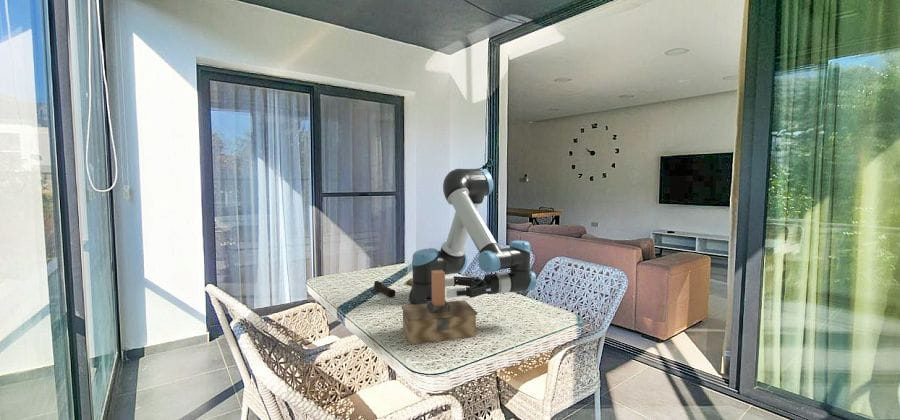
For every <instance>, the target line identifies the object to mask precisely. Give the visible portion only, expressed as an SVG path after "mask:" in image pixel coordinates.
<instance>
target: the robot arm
mask: <svg viewBox="0 0 900 420" xmlns="http://www.w3.org/2000/svg"><path fill="white" fill-rule="evenodd" d="M442 189H443V190H442V191H443V195H444V198H445V200H446V201H447V203H448V204H449V205H451V206H452V207H453V208H454V210H455V213H454V215H453V219H452V222H451V224H450V229H449V231H448V235H447V238H446V241H445V242H443V243H442V244H441V248H440V250H438V249H437V248H433V247H432V248H431V247H430V248H423V249H418V250H416V251H415V252H414V253H413V254H412V259H411V260H412V261H411V265H412V269H411V270H412V278H413V285H412V286H411V288H410V291H409V295H408V302H409V303H410V304H411V305H417V304H427V302H430V301H432V271H433V270H443V271H444V272H445V276H446V275H453V274H458V273H461V272H463V271H464V270H465V269H466V267H467V266H468V262H469V261H468V254H467V252H466V248H465V245H466V241H467V239H468V237H469V236H470V239H471V240H472V242H473V243H474V245H475V247H476V249H477V251H478V253H479V255H478V257H477V262H478V267H479V268H480V270H482V271H483V272H486V273H487V274H485V275H484V277H483V279H481V278H480V277H479V276H455V275H454V276H453V278H445V287H455V286H461V287H458V288H450V289H449V288H447V289H446V297H447V298H457V297H458V298H459V297H465V296H466V297H469V298H470V299H473V298H476V297H479V296H482V295H486V294H487V295H497V294H502V295H505V294H506V293H507V294H508V293H520V292H521V293H522V292H523V293H524V292H530V291H534V290H535V288H536V287H537V283H538V282H537V281H538V280H537V277H536V276H537V275H536V273H535V271H532V270H531V253H532V252H531V244H530V242H529V241H526V240H518V239H516V240H512V241H510V244H509V247H504V248H501V247H500V246H499V244H498V242H497V240H496V239H495V237H494V236H493V234H492V232H491V231H490V229H489V227H488V226H487V224H486V222H485V220H484V219H483V217H482V216H481V214H480V213H479V211H478V209H477V208H478V207H479V205H481V204H482V203H483V201H484V199H485V196H489V195H491V194H492V192H493V190H494V179H493V177H492V175H491V173H490V172H489V171H488V170H486V169H485V168H455V169H453V170H450V171H449V172H448V173H447V174H446V175H445V177H444V179H443V184H442ZM506 269H507V270H508V269H509V271H510V272H497V271H500V270H501V271H502V270H506ZM491 272H496V273H491Z"/></svg>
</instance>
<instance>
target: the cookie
mask: <svg viewBox="0 0 900 420" xmlns="http://www.w3.org/2000/svg"><path fill="white" fill-rule="evenodd" d="M406 284H407V285H408V286H409V287H412V285H413V277H411V278H409V279H407V281H406Z"/></svg>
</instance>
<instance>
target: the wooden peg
mask: <svg viewBox="0 0 900 420" xmlns="http://www.w3.org/2000/svg"><path fill="white" fill-rule="evenodd" d="M445 279H446V275H445V272H444V271H443V270H433V271H432V306H433V307H436V306H445V301H446V286H445Z"/></svg>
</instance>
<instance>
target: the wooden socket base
mask: <svg viewBox="0 0 900 420" xmlns="http://www.w3.org/2000/svg"><path fill="white" fill-rule="evenodd" d="M401 310H402V330H403V332H404V335H405V337H406V340H407V342H408V344H409V345H416V344H426V343H433V342H441V341H443V342H444V341H450V340H459V339H469V338H475V337H477V336H476V334H477V333H476V332H477V331H476V329H477V328H476V326H477V319H476V318H477V315H478V312H477V311H476V310H475V309H474V308H473V306H472V305H470V304H469V303H468V302H467V300H465V299H464V300H462V299H461V300H452V301H446V300H445V306H436V307H433V306H432V301H430V302H427V304H417V305H415V304H409V305H401Z"/></svg>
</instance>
